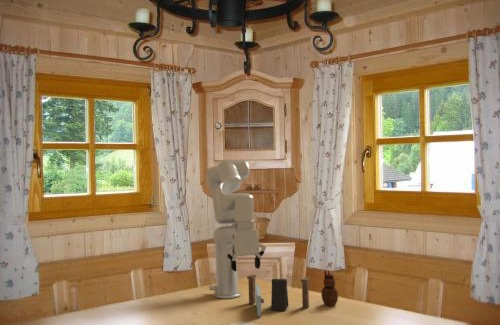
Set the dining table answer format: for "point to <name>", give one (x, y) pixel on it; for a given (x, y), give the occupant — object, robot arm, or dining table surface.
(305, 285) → the brown gate posts
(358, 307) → the dining table surface
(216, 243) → the robot arm
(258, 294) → the door
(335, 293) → the wooden figurine
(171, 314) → the dining table surface
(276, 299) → the door stopper
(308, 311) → the dining table surface
